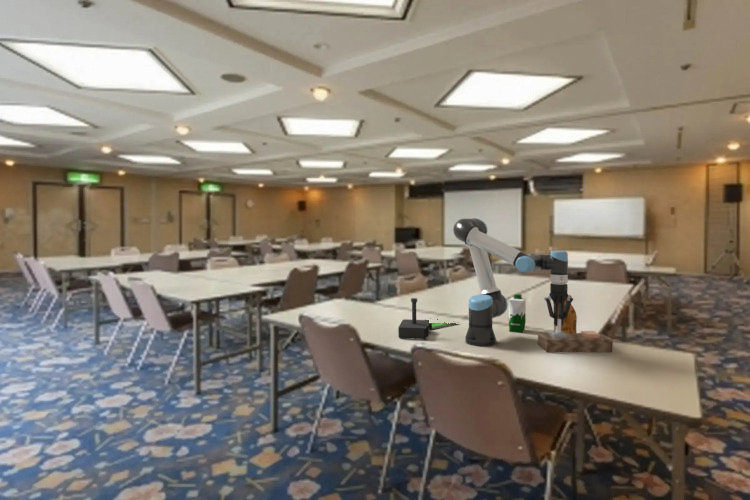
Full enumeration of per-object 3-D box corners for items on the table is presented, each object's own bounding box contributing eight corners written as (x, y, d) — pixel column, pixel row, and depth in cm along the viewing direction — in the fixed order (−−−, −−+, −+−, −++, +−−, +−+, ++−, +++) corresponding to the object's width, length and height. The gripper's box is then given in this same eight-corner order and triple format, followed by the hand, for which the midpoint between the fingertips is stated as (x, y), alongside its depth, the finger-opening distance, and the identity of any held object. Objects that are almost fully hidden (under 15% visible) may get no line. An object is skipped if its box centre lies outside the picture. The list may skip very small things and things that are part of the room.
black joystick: (429, 340, 218) (429, 302, 217) (398, 339, 222) (397, 301, 221) (432, 331, 237) (432, 296, 236) (403, 330, 240) (402, 295, 239)
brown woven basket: (546, 352, 195) (546, 339, 195) (537, 344, 207) (537, 333, 206) (612, 352, 194) (612, 339, 193) (599, 345, 206) (600, 332, 205)
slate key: (554, 344, 198) (554, 334, 197) (549, 341, 204) (549, 331, 203) (567, 344, 197) (567, 334, 197) (561, 341, 203) (562, 331, 203)
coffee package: (579, 336, 221) (580, 295, 219) (570, 341, 212) (570, 298, 211) (560, 333, 228) (561, 293, 227) (550, 337, 219) (551, 296, 218)
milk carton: (526, 329, 237) (526, 294, 236) (523, 333, 229) (524, 297, 228) (510, 328, 241) (510, 293, 240) (507, 331, 233) (507, 296, 232)
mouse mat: (437, 318, 271) (437, 316, 271) (462, 324, 253) (462, 322, 253) (404, 324, 255) (404, 322, 255) (429, 331, 237) (429, 329, 237)
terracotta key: (586, 344, 197) (586, 334, 197) (580, 341, 203) (581, 331, 203) (599, 344, 197) (599, 334, 196) (593, 341, 203) (593, 331, 202)
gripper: (547, 284, 195) (547, 334, 197) (576, 284, 195) (575, 334, 196) (542, 282, 203) (541, 330, 204) (569, 282, 202) (568, 330, 204)
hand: (558, 332), depth 200 cm, fingers closed
